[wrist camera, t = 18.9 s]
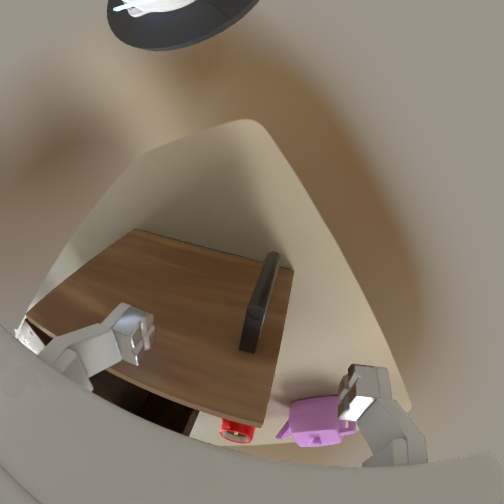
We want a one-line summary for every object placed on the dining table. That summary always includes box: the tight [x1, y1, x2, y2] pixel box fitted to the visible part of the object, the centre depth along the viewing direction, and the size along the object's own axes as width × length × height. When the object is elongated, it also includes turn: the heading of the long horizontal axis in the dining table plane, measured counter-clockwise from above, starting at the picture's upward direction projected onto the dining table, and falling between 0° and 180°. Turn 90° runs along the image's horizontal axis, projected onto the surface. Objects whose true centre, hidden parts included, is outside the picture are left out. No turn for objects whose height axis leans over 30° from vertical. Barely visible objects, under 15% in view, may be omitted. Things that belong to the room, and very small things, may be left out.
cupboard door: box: [26, 229, 294, 428], centre depth 29 cm, size 7×26×24 cm, turn 81°
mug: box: [220, 418, 255, 443], centre depth 56 cm, size 8×12×8 cm, turn 29°
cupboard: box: [17, 318, 199, 437], centre depth 39 cm, size 18×26×24 cm
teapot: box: [276, 396, 356, 447], centre depth 49 cm, size 18×10×10 cm, turn 115°
